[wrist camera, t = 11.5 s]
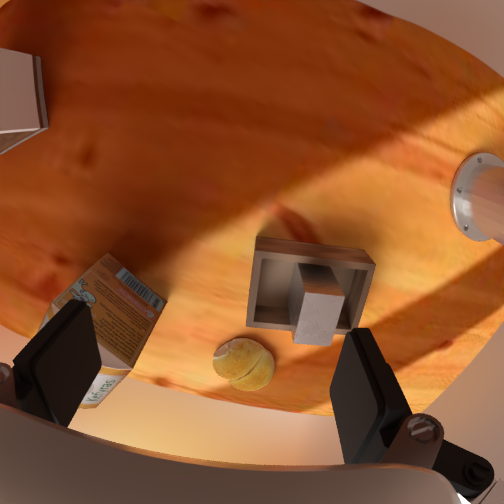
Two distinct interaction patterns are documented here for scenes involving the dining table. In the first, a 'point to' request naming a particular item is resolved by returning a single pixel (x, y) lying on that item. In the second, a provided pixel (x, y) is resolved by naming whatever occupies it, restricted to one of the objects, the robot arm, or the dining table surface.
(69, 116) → the dining table surface
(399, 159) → the dining table surface
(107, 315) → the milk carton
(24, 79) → the light grey boxy piece
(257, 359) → the bread roll
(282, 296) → the open box
